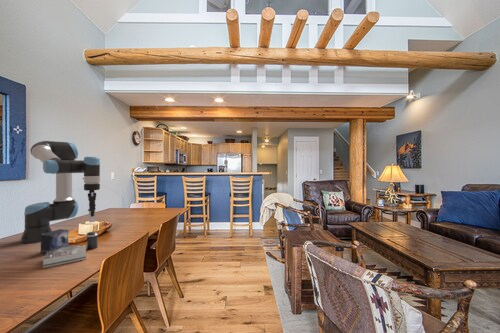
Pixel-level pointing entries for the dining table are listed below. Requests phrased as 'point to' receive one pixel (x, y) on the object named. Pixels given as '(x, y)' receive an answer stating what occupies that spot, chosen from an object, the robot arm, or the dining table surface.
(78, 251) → the grey piece
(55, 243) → the small box
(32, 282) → the dining table surface
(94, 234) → the lens
